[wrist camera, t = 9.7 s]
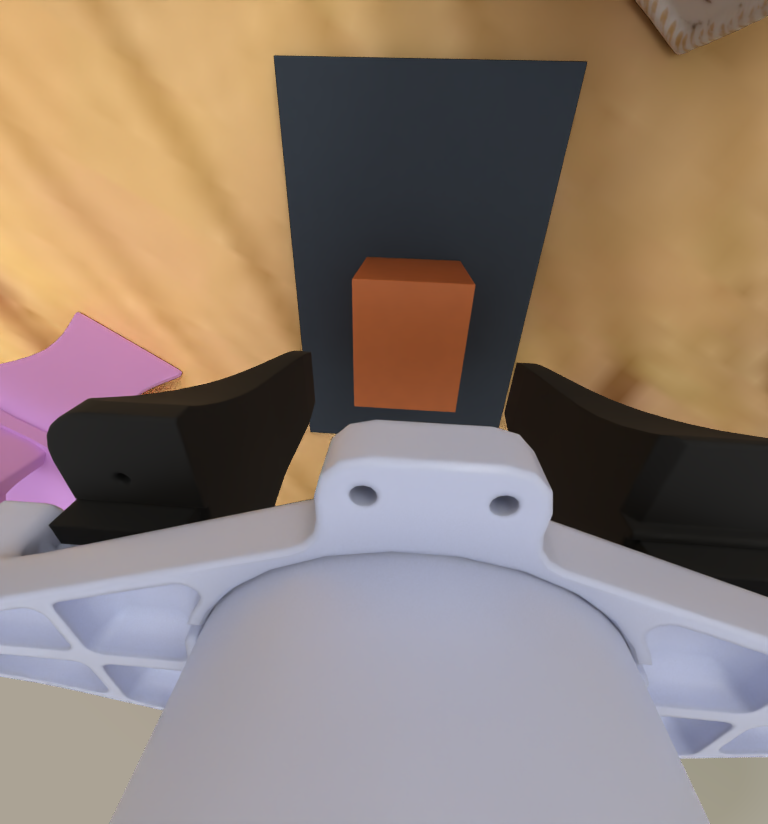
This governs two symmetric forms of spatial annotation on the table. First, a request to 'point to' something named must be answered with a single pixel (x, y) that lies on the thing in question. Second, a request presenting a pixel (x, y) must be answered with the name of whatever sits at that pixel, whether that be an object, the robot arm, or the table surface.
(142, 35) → the table surface
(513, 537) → the robot arm
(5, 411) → the toy chair
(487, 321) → the back mat
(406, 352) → the orange box
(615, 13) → the table surface
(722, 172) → the table surface
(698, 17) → the decorative jar
